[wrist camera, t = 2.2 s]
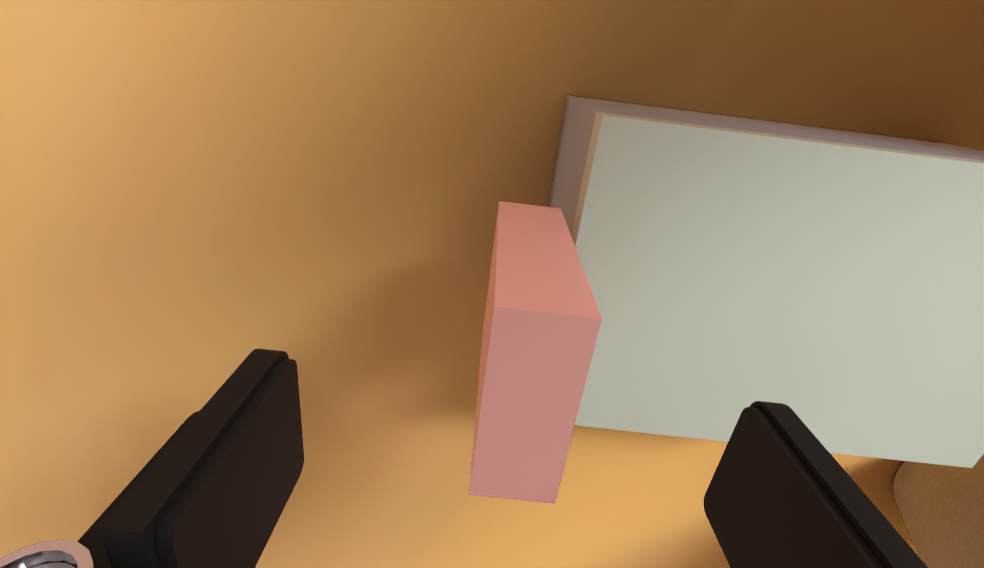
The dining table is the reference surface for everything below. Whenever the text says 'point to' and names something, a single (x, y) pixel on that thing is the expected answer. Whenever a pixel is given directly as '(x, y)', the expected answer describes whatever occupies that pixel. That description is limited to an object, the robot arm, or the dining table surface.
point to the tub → (584, 110)
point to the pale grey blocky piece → (735, 301)
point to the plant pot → (943, 512)
